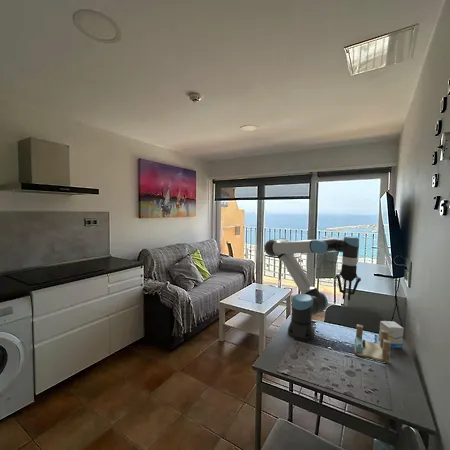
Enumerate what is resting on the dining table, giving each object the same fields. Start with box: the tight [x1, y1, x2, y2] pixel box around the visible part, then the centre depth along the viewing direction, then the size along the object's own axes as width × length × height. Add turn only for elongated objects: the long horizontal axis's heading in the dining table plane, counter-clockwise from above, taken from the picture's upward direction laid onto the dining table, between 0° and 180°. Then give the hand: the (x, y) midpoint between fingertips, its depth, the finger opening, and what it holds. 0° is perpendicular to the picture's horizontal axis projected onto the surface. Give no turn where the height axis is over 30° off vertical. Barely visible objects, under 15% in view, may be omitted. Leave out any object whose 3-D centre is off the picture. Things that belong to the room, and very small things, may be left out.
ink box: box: [378, 320, 405, 349], centre depth 144 cm, size 9×8×12 cm
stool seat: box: [354, 324, 392, 364], centre depth 136 cm, size 16×16×10 cm
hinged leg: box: [354, 336, 363, 353], centre depth 137 cm, size 11×3×4 cm, turn 155°
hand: (345, 305), depth 143 cm, fingers closed
